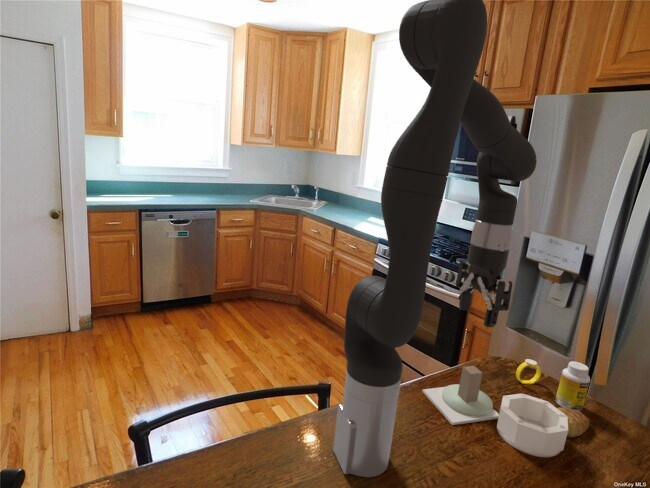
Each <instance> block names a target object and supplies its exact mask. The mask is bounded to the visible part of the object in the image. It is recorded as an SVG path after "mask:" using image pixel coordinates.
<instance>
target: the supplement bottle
mask: <svg viewBox="0 0 650 488" xmlns="http://www.w3.org/2000/svg"><path fill="white" fill-rule="evenodd" d="M589 371H590V370H589V367H588V366H587V365H586V364H584V363H582V362H578V361H574V360H573V361H569V362H568V365H567V367H566V368H564V369H562V371H561V377H560V380H559V384H558V388H557V391H556V395H555V402H556V404H557V405H558V406H559V407H561V408H566V409H571V410H576V411H579V412H581V411H582V410H583V408H584V404H585V400H586V397H587V393H588V391H589V387H590V386H589V385H590V382H591V378H590V375H589Z"/></svg>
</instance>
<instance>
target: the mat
mask: <svg viewBox="0 0 650 488" xmlns="http://www.w3.org/2000/svg"><path fill="white" fill-rule="evenodd" d="M445 387H446V386H443V387H442V386H441V387H432V388H425V389H422V393H423V394H424V395H425V396H426V398H427V399H428V400H429V401H430V402H431V404H433V406H434V407H435V408H436V409H437V410H438V411H439V412H440V413H441V414H442V415H443V416H444V417H445V419H446V420H447V422H449V423H450V424H451V426H455V425H463V424H470V423H477V422H483V421H491V420H498V418H499V413H498V412H497V411H496V410H495V409H494V408H493V407H492V411H491V412H490V413H489V414H488V415H485V416H469V415H465V414H462V413H460V412H457V411H455V410H453V409H452V408H450V407H449V406H448V405H447V404H446V403H445V402H444V400H443V398H442V392H443V389H444V388H445Z"/></svg>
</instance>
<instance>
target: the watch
mask: <svg viewBox="0 0 650 488" xmlns="http://www.w3.org/2000/svg"><path fill="white" fill-rule="evenodd" d="M527 367H533V368H536V370H535V371H536V373H535V374H534V376H533V377H532V378H530V379H521V374H522V371H523V370H524V369H525V368H527ZM515 371H516V372H515V377H516V380H517V381H519V382H520V383H521V384H522V385H534V384H536V383H537V382H538V381H539V379H540V378H541V376H542V375H541V374H542V370H541V366H539V365H538V362H537V361H536V360H533V359H530V358H526V359H525V360H524V362H522V363H521V364H519V366H518V367H517V368H516V370H515Z"/></svg>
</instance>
